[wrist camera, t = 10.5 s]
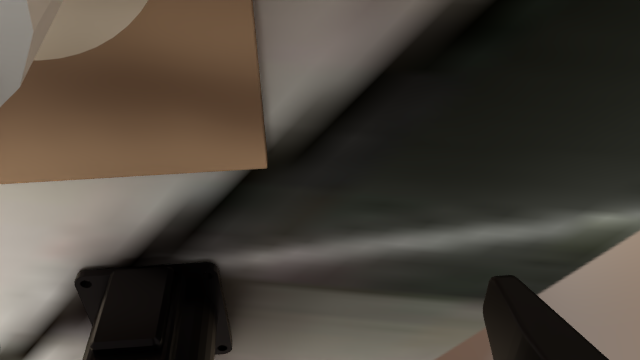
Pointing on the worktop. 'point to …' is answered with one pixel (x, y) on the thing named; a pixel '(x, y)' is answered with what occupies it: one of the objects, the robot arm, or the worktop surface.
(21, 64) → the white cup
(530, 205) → the worktop surface
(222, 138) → the serving board
